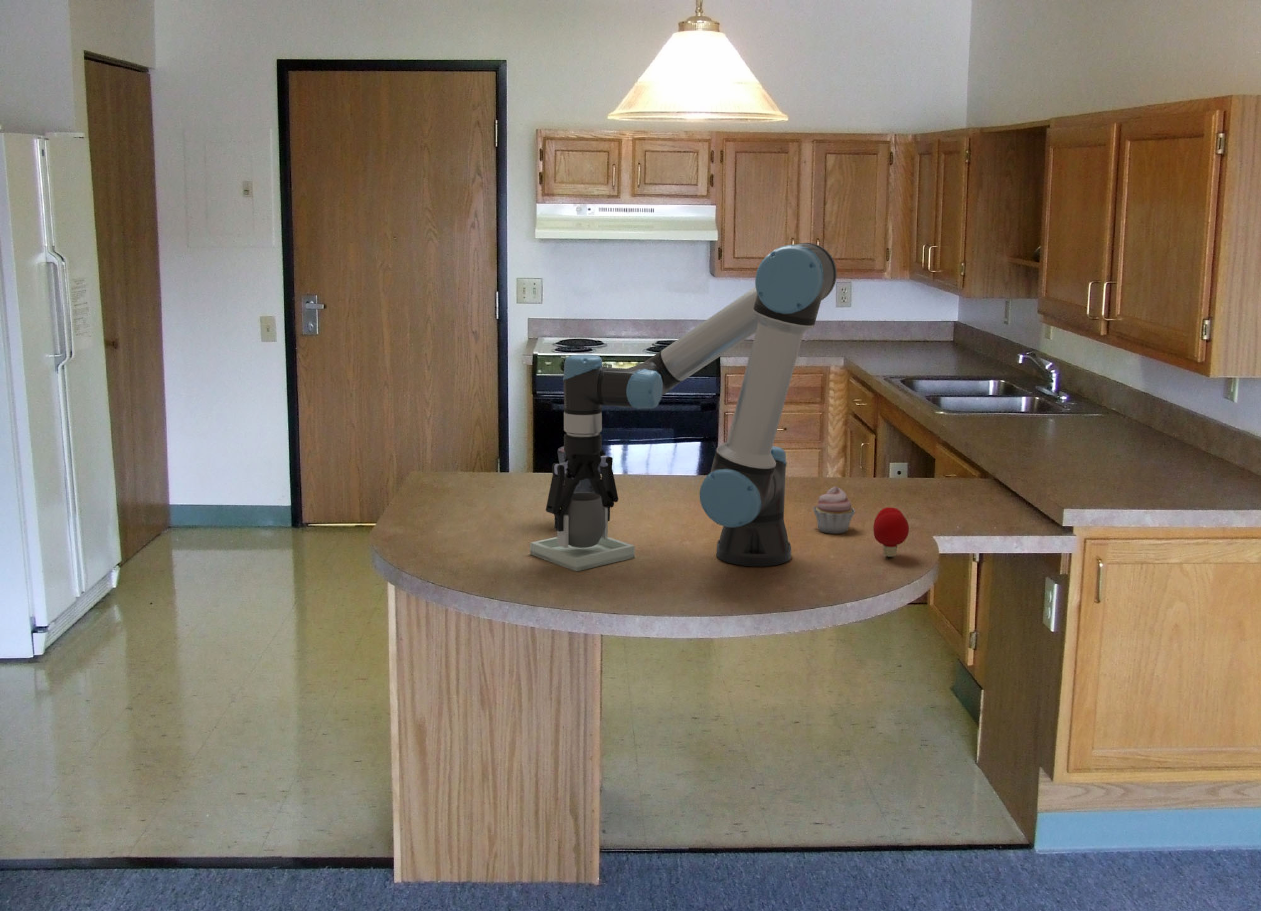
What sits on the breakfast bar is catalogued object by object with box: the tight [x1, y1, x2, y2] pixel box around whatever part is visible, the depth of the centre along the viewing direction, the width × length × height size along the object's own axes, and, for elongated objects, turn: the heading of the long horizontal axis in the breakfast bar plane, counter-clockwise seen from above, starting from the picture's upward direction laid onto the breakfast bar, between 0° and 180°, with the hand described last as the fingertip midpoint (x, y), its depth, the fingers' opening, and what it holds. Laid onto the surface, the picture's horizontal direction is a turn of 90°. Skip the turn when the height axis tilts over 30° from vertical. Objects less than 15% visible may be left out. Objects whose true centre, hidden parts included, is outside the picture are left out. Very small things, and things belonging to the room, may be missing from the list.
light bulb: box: [872, 507, 910, 559], centre depth 267 cm, size 9×7×10 cm
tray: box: [529, 536, 636, 572], centre depth 267 cm, size 15×15×2 cm
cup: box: [565, 492, 606, 548], centre depth 265 cm, size 10×9×10 cm
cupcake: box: [812, 485, 856, 535], centre depth 287 cm, size 9×9×10 cm
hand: (582, 541), depth 266 cm, fingers closed on cup, 9 cm apart
